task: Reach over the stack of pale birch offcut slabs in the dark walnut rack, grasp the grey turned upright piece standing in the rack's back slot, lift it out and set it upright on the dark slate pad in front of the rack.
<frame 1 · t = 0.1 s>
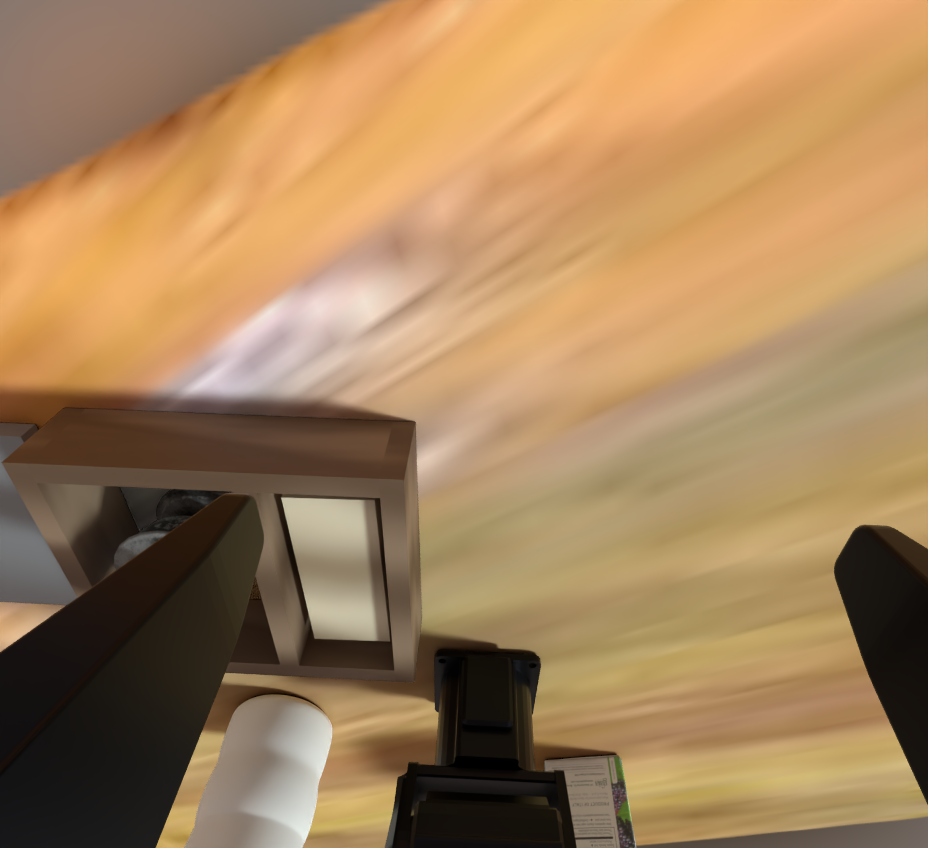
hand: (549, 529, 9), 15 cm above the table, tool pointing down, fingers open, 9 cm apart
syrup box: (583, 770, 43), on the table
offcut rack: (266, 526, 30), on the table
white bottle: (286, 714, 41), on the table
slate pad: (2, 514, 30), on the table
offcut slab upper: (349, 548, 28), point 1 cm above the table, touching offcut slab lower
grey turned upright piece: (210, 520, 30), on the table
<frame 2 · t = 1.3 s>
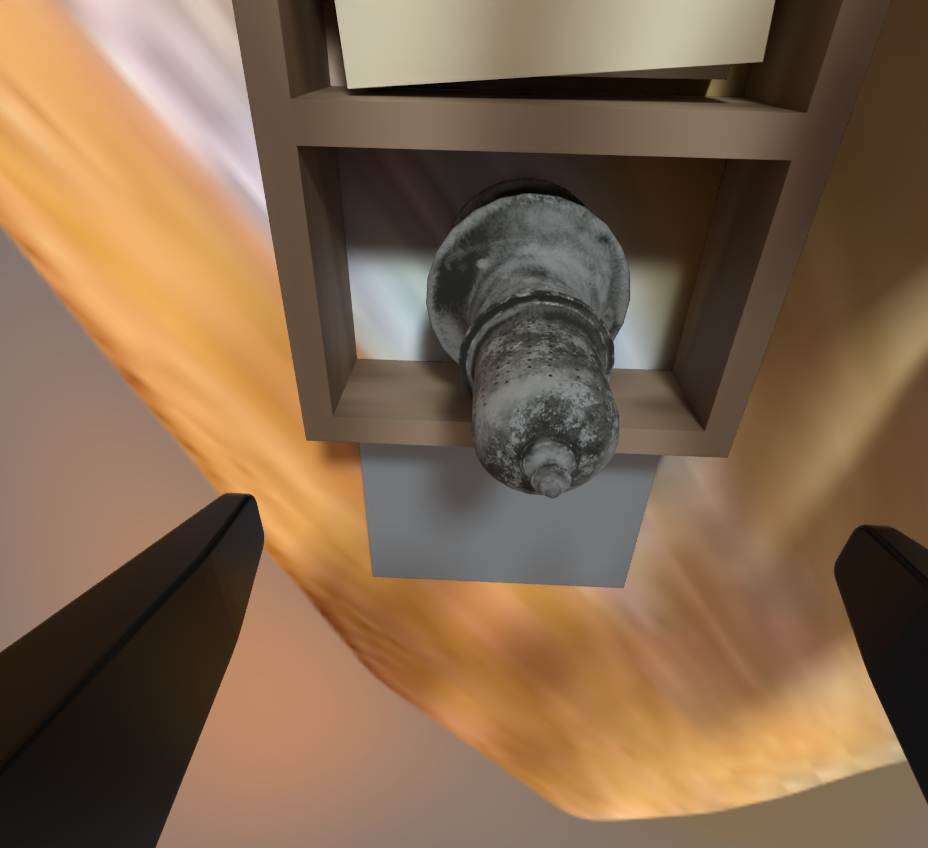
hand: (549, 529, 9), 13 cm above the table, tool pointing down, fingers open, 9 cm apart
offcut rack: (529, 166, 18), on the table
slate pad: (502, 501, 26), on the table
grey turned upright piece: (521, 259, 20), on the table
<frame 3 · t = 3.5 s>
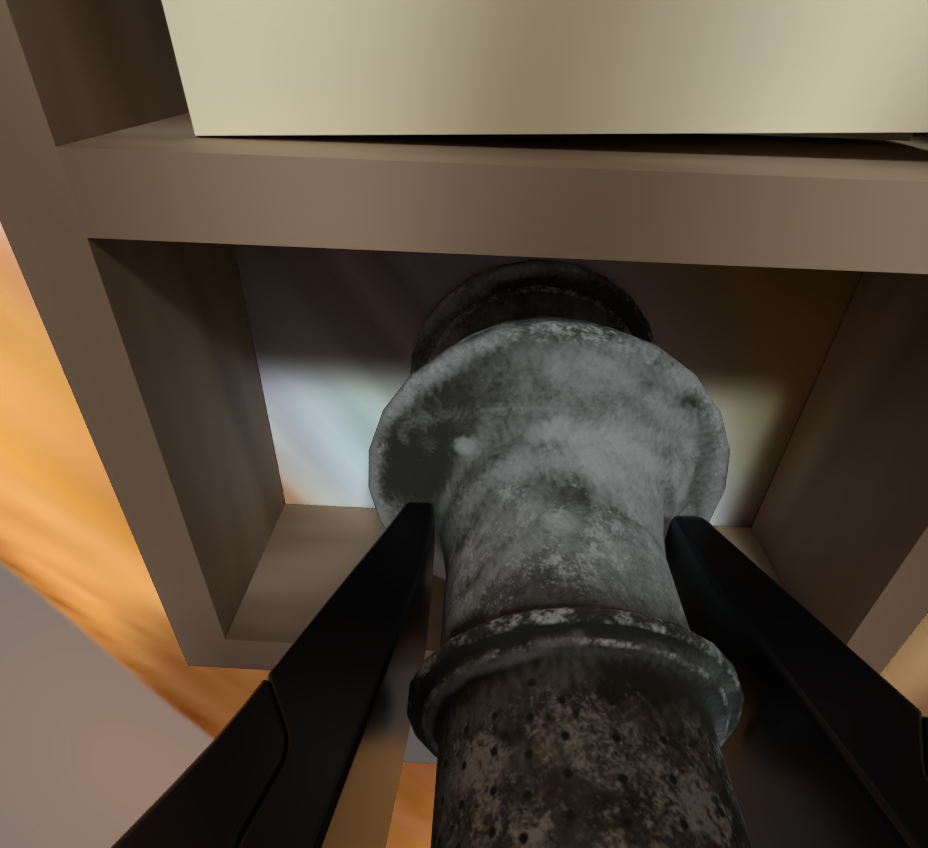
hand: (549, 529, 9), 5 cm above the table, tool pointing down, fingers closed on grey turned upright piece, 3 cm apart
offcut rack: (547, 242, 11), on the table
slate pad: (498, 672, 19), on the table
grey turned upright piece: (531, 375, 12), on the table, touching gripper
when the fingers open (7 cm above the table, at t = 7.4 s): grey turned upright piece drops 1 cm, resting on slate pad.
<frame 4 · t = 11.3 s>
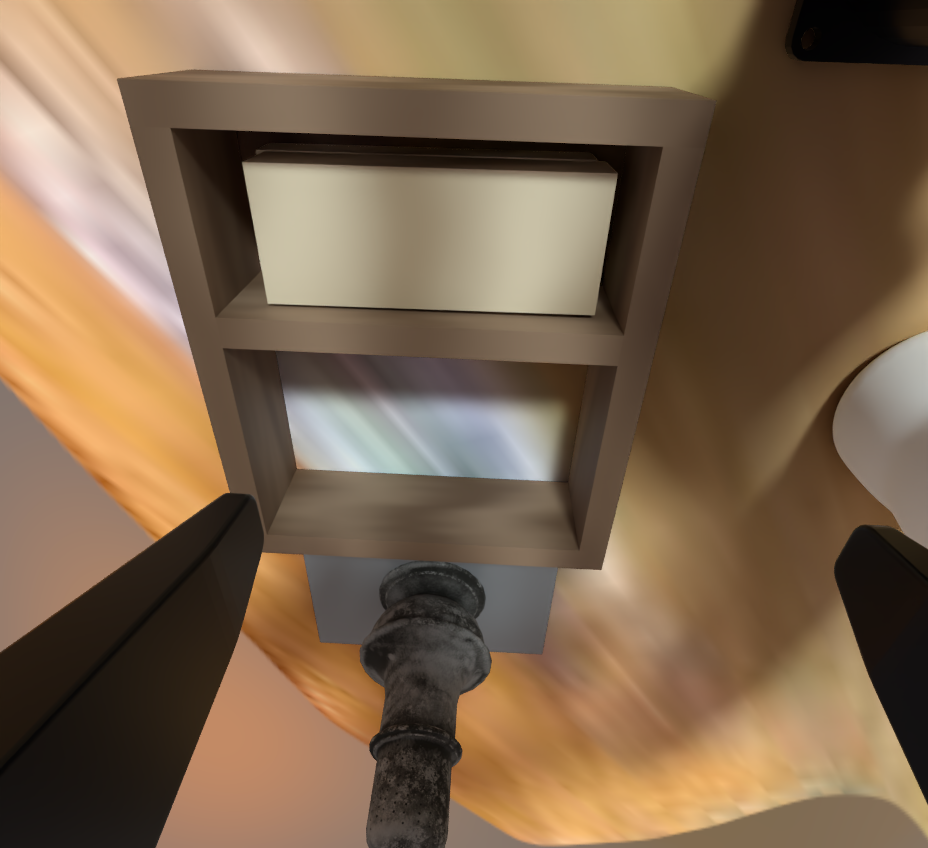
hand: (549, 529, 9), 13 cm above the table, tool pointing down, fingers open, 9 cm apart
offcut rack: (430, 330, 21), on the table
white bottle: (920, 396, 22), on the table
slate pad: (432, 581, 29), on the table
offcut slab upper: (434, 226, 18), point 1 cm above the table, touching offcut slab lower
offcut slab lower: (431, 210, 19), on the table, touching offcut slab upper
grey turned upright piece: (432, 593, 28), point 1 cm above the table, touching slate pad
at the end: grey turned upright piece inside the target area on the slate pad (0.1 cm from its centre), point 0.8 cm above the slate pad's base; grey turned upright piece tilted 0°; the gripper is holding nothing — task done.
